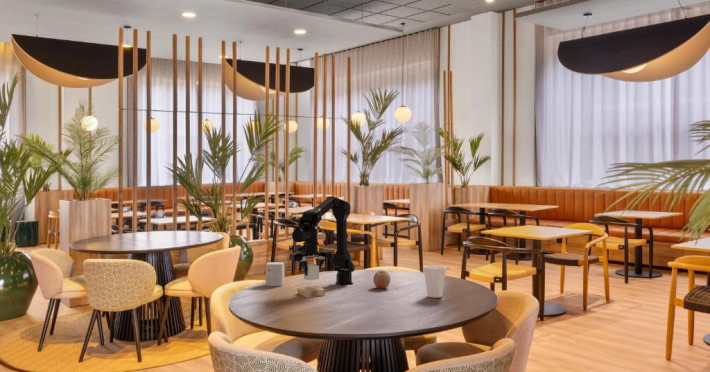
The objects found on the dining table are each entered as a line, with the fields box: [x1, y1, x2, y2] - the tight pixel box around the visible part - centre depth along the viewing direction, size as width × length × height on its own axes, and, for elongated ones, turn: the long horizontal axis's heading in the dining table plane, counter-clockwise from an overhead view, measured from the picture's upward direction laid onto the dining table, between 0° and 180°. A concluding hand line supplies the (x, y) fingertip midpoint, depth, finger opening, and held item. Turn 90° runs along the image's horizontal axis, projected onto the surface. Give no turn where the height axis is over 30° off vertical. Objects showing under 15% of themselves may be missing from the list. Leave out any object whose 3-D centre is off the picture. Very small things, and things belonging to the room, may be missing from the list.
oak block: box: [297, 285, 326, 299], centre depth 258 cm, size 9×9×3 cm
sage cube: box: [303, 263, 320, 281], centre depth 258 cm, size 5×5×6 cm
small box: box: [265, 261, 285, 287], centre depth 280 cm, size 8×6×10 cm
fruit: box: [372, 270, 391, 290], centre depth 271 cm, size 8×8×8 cm
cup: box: [422, 264, 447, 299], centre depth 253 cm, size 10×10×13 cm
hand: (311, 275), depth 258 cm, fingers closed on sage cube, 5 cm apart
